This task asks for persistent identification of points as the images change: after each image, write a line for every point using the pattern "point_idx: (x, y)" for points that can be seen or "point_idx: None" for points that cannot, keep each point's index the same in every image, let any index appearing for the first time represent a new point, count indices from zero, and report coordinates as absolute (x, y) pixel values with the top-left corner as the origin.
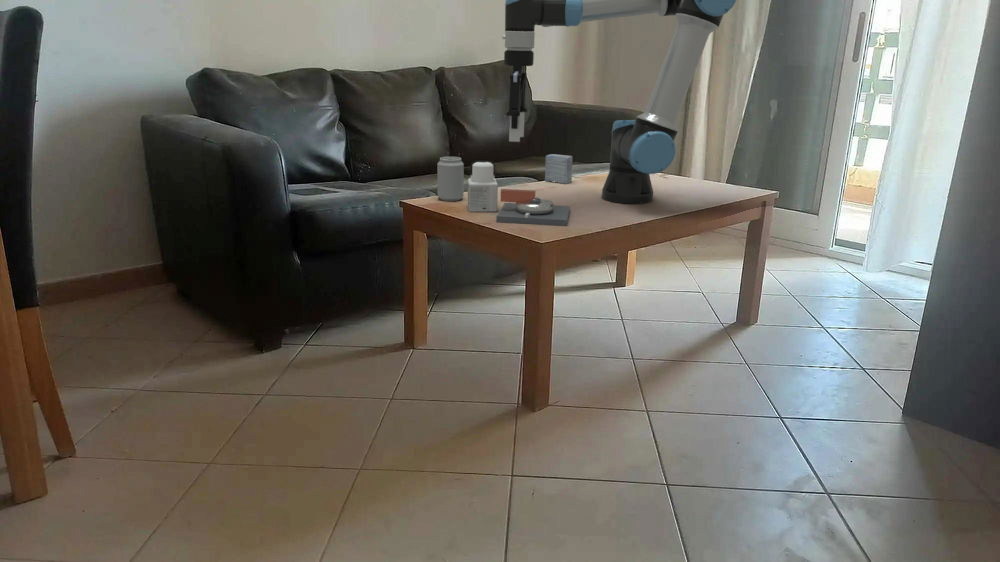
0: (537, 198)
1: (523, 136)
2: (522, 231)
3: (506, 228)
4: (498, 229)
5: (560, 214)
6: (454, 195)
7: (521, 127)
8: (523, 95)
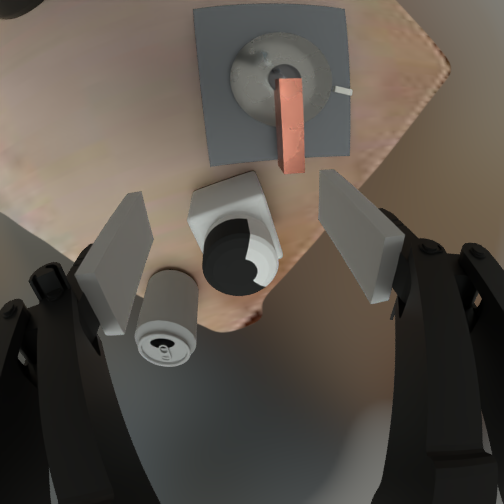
0: (278, 72)
1: (139, 192)
2: (399, 96)
3: (385, 126)
4: (394, 140)
5: (294, 19)
6: (192, 282)
7: (130, 227)
8: (93, 422)
